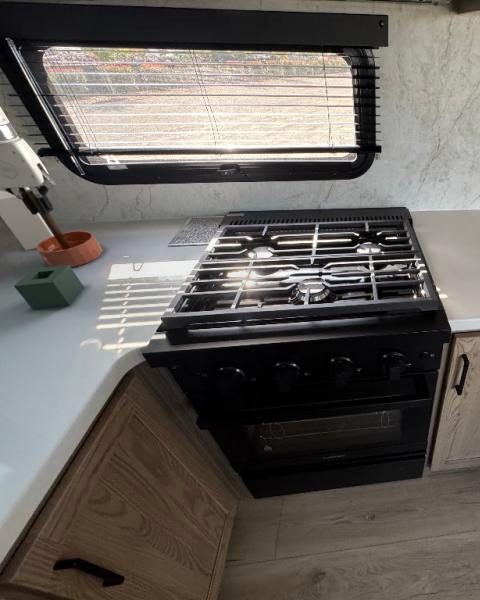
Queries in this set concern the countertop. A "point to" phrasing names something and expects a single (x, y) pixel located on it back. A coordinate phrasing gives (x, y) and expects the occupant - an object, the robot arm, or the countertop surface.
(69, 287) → the holder
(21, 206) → the milk carton
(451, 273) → the countertop surface
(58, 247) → the bowl
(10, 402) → the countertop surface
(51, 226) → the stick
